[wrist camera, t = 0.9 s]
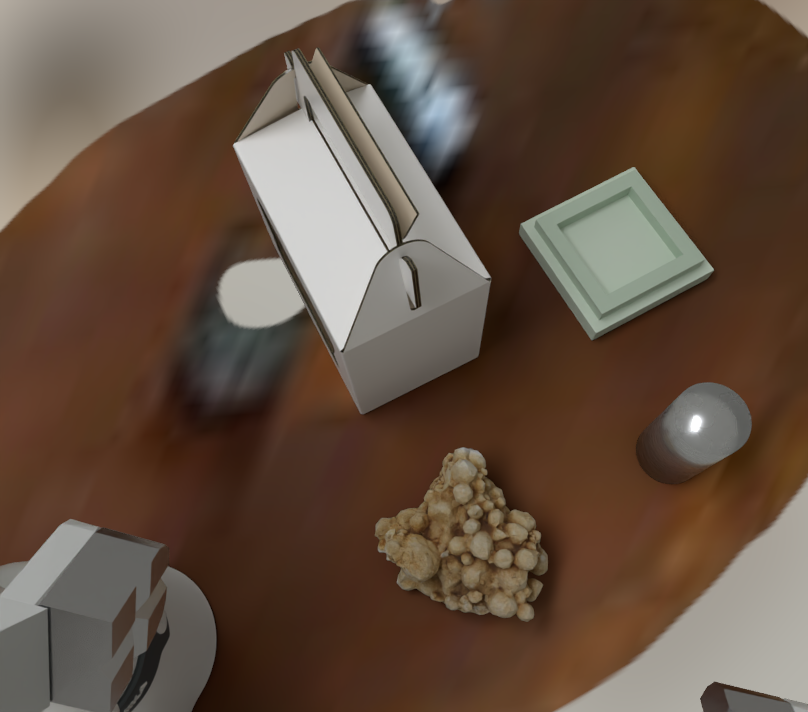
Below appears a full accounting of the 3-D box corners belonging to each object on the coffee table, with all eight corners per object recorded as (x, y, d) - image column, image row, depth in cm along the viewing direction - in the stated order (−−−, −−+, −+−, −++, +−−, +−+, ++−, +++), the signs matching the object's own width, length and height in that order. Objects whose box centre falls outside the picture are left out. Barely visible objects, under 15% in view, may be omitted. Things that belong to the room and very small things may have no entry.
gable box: (481, 358, 74) (506, 210, 48) (362, 418, 73) (322, 297, 47) (381, 190, 82) (357, -19, 55) (271, 241, 80) (193, 50, 54)
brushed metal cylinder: (660, 495, 69) (704, 469, 58) (623, 440, 71) (659, 404, 60) (713, 464, 70) (767, 433, 59) (675, 411, 72) (720, 370, 61)
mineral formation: (467, 443, 71) (587, 558, 66) (369, 545, 71) (484, 669, 66) (455, 428, 64) (591, 556, 59) (346, 542, 63) (474, 682, 58)
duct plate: (591, 340, 75) (599, 327, 71) (518, 233, 79) (522, 216, 76) (707, 278, 76) (719, 263, 73) (629, 177, 81) (637, 158, 78)
